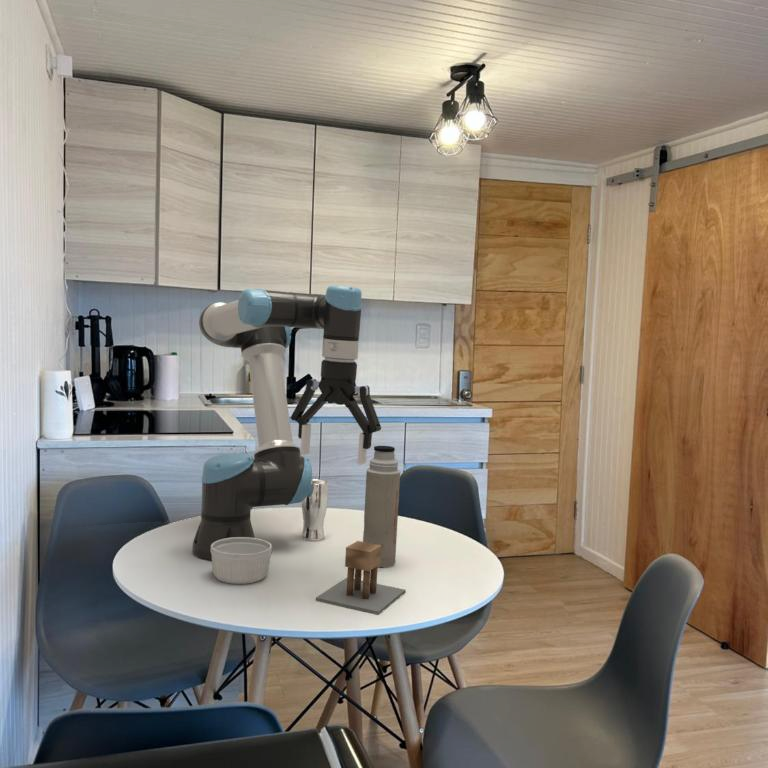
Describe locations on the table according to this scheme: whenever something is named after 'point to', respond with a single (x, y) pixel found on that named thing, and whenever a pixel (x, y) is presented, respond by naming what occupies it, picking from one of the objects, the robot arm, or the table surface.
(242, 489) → the robot arm
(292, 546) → the table surface
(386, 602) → the mat
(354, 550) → the stool
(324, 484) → the silver cocktail shaker
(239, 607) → the table surface
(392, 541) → the thermos bottle
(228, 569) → the ramekin
